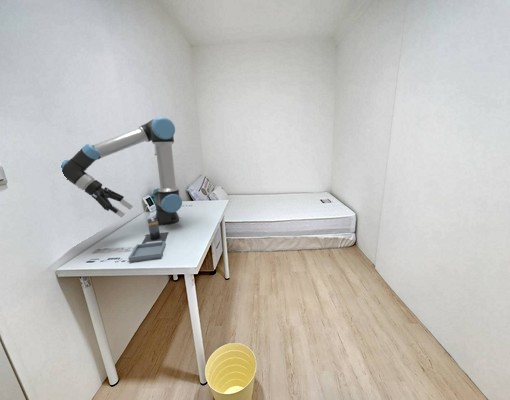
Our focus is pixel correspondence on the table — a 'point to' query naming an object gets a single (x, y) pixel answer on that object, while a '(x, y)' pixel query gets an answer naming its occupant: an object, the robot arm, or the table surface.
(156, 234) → the battery cell
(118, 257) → the table surface
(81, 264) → the table surface
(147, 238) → the dark grey pad
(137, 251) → the tray
